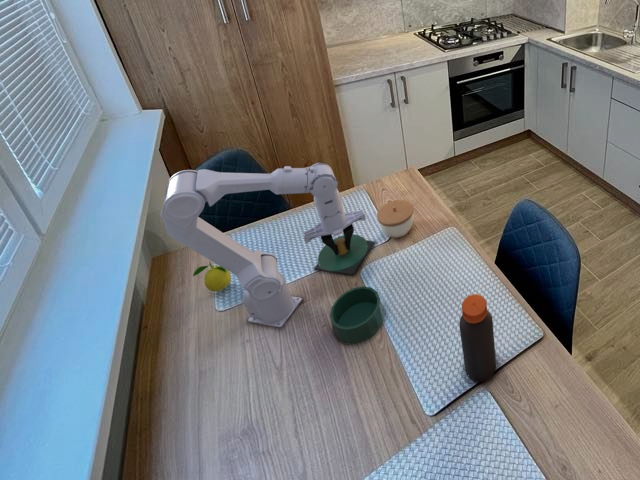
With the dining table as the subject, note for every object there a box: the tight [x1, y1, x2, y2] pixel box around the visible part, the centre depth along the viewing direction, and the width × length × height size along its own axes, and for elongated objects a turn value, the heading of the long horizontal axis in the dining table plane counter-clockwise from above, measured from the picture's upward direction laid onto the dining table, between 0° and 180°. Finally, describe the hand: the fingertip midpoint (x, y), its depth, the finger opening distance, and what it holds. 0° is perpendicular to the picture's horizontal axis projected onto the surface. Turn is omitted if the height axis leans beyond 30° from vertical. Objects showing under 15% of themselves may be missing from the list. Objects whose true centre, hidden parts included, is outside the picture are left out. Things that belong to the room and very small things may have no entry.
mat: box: [313, 240, 376, 277], centre depth 117 cm, size 12×12×1 cm
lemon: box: [192, 261, 232, 292], centre depth 106 cm, size 7×6×10 cm
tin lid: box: [317, 233, 367, 273], centre depth 105 cm, size 12×12×5 cm
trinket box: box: [376, 199, 415, 239], centre depth 124 cm, size 11×11×9 cm
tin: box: [329, 285, 384, 345], centre depth 97 cm, size 11×11×5 cm
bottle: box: [458, 293, 497, 383], centre depth 84 cm, size 7×7×20 cm
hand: (342, 249), depth 106 cm, fingers closed on tin lid, 2 cm apart
